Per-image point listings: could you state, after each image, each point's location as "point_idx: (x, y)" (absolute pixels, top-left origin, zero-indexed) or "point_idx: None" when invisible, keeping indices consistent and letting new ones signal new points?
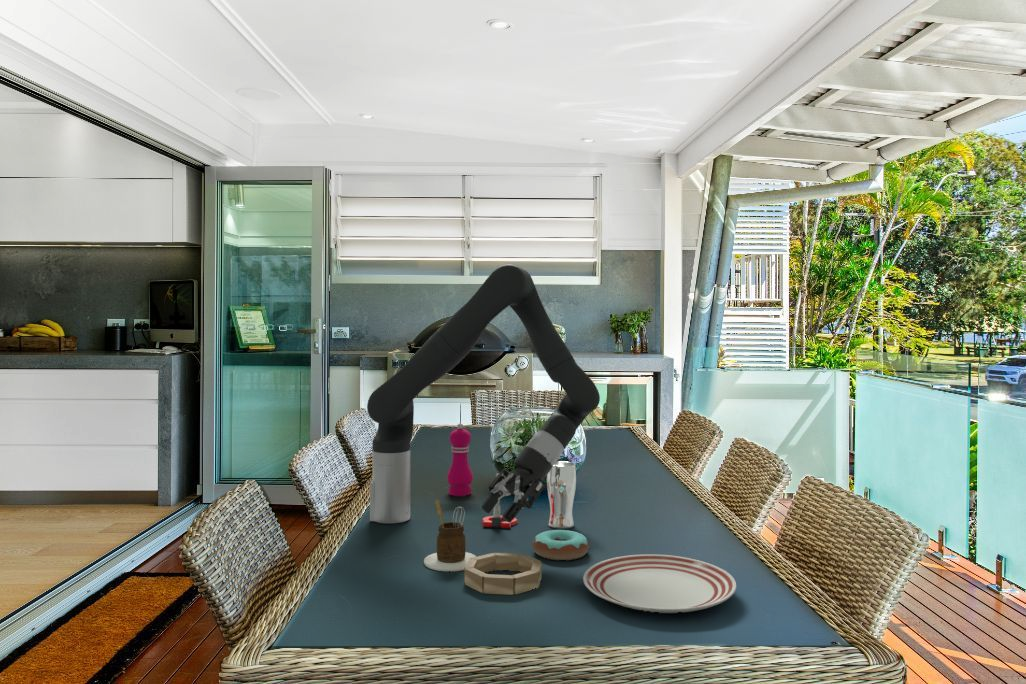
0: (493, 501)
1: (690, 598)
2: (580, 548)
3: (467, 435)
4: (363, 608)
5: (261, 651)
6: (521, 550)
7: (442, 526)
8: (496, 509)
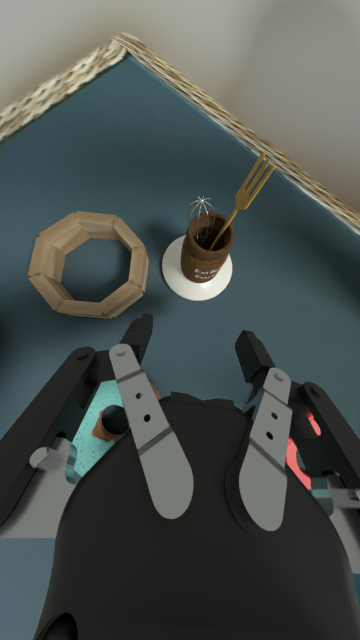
0: (247, 364)
1: None
2: None
3: None
4: (145, 131)
5: (127, 47)
6: (172, 373)
7: (224, 226)
8: None
